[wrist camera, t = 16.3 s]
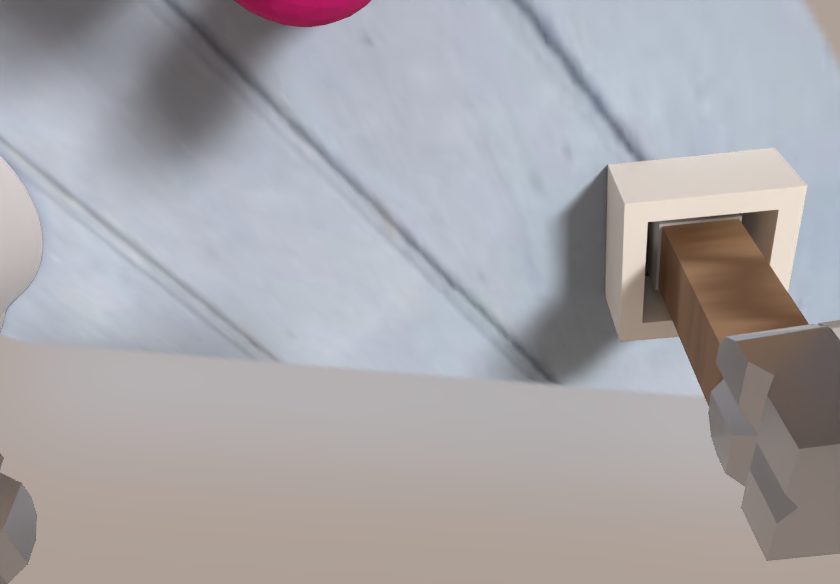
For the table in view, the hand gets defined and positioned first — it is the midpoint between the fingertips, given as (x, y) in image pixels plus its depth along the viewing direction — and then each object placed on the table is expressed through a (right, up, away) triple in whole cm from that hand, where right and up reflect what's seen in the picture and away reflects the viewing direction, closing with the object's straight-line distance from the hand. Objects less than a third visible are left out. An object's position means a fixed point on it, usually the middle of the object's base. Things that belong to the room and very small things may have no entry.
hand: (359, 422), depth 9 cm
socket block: (+16, +5, +36) cm, 40 cm away
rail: (+16, +5, +36) cm, 40 cm away
